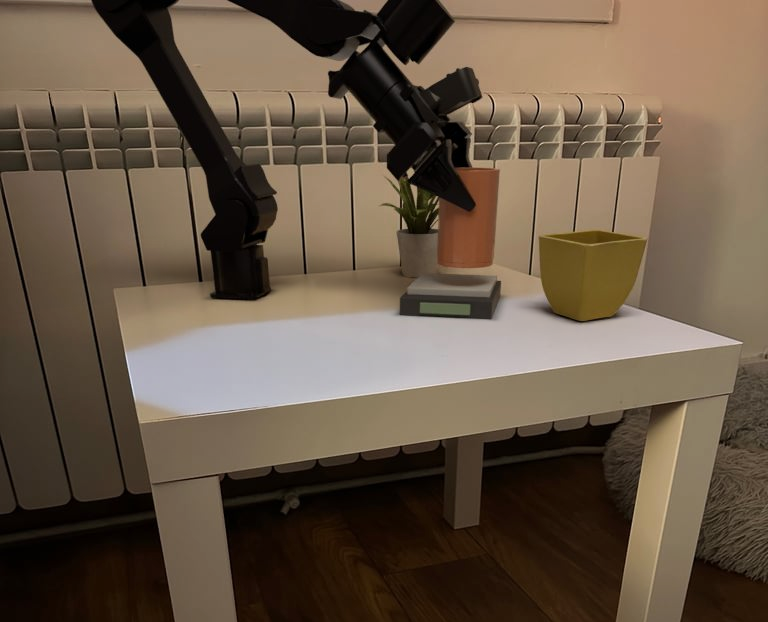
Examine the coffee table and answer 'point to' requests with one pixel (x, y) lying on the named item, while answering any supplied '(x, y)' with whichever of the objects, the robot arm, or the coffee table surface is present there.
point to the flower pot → (589, 271)
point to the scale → (451, 296)
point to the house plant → (417, 231)
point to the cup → (470, 222)
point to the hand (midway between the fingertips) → (479, 205)
